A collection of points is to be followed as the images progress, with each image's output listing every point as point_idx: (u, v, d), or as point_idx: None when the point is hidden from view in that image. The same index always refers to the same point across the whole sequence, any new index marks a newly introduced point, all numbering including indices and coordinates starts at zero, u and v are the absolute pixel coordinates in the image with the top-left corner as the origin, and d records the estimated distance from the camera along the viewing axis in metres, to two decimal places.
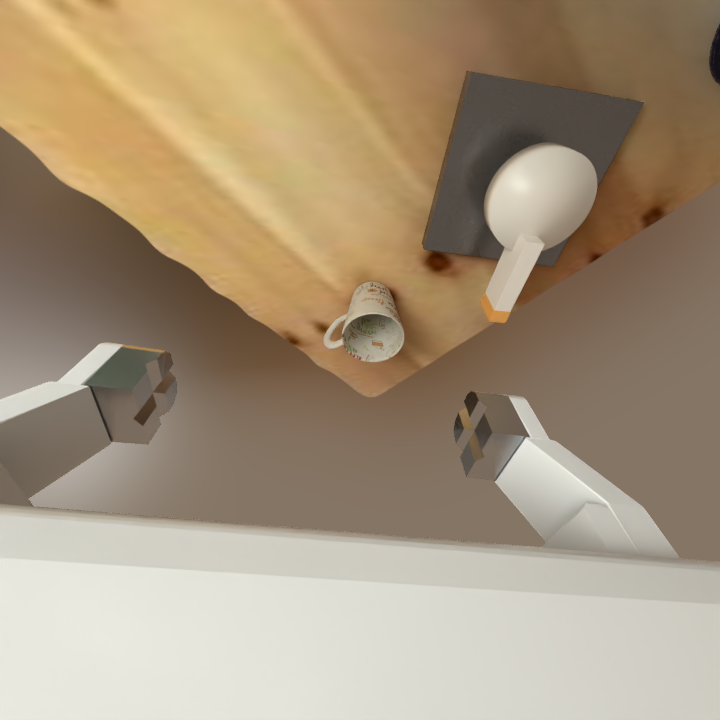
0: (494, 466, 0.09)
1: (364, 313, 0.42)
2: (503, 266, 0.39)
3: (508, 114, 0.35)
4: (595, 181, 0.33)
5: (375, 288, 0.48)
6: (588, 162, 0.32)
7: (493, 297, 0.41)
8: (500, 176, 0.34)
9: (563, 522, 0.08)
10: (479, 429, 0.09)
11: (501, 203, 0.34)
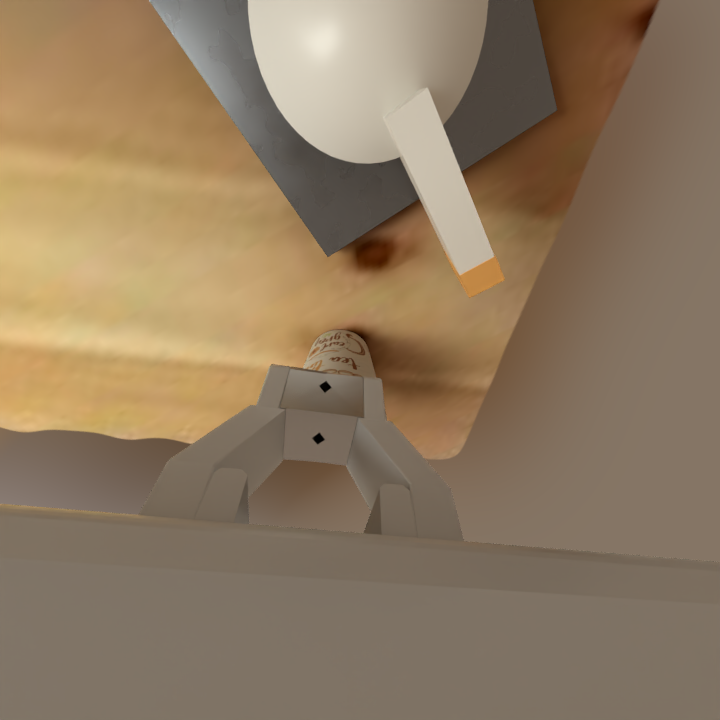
0: (339, 449, 0.08)
1: None
2: (418, 192, 0.19)
3: None
4: None
5: (319, 345, 0.32)
6: None
7: (448, 253, 0.20)
8: None
9: None
10: None
11: (294, 101, 0.16)
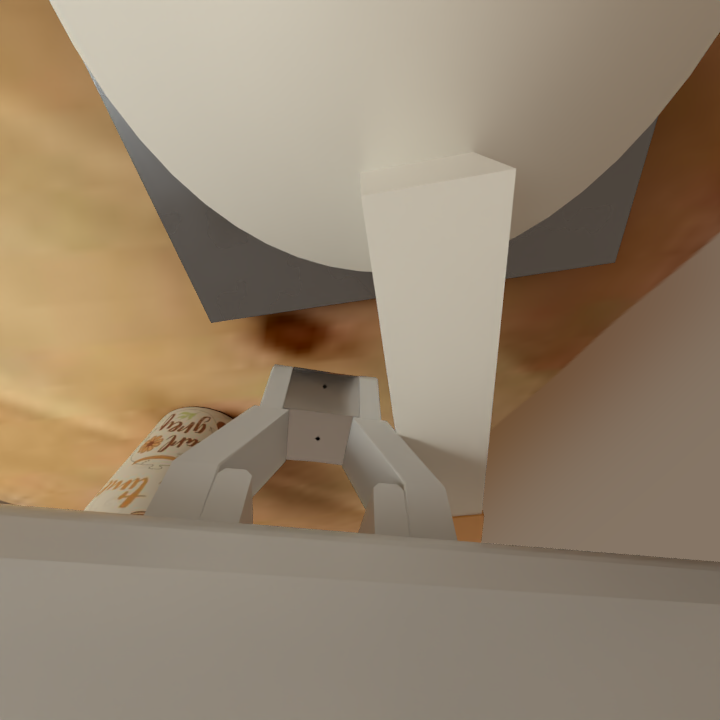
0: (335, 449, 0.08)
1: None
2: None
3: None
4: None
5: (164, 433, 0.20)
6: None
7: None
8: None
9: None
10: None
11: None
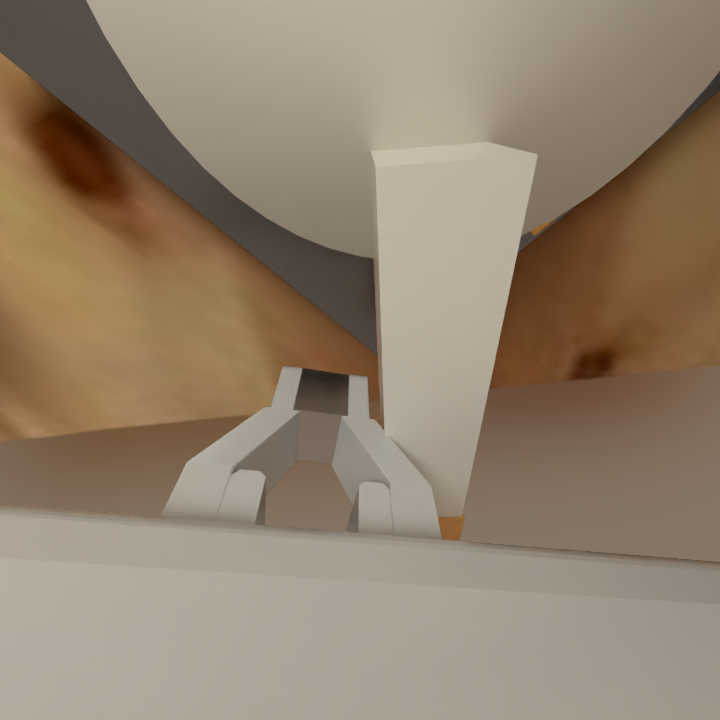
0: (324, 448, 0.08)
1: None
2: None
3: None
4: None
5: None
6: None
7: None
8: None
9: None
10: None
11: None
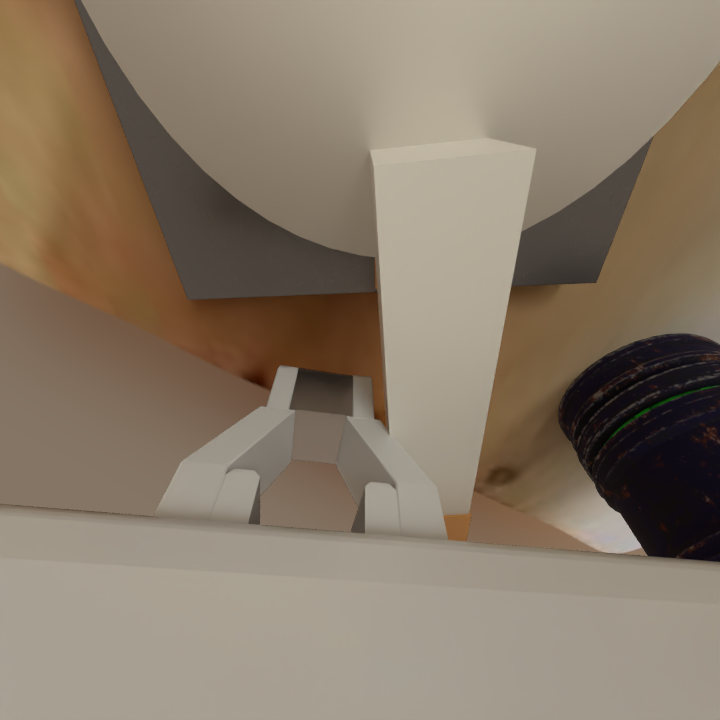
0: (329, 448, 0.08)
1: None
2: None
3: None
4: None
5: None
6: None
7: None
8: None
9: None
10: None
11: None
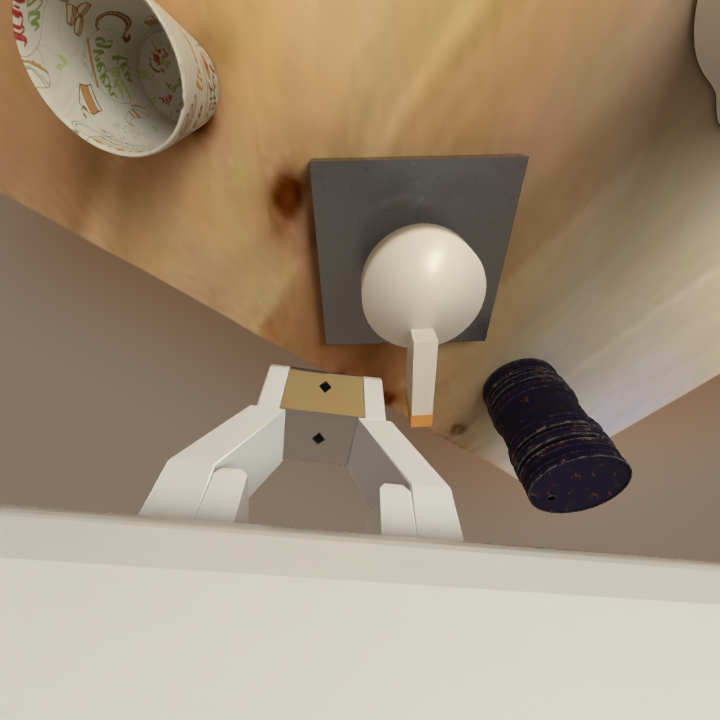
0: (339, 450, 0.08)
1: (164, 23, 0.17)
2: (409, 364, 0.32)
3: (483, 220, 0.31)
4: (477, 259, 0.26)
5: (211, 76, 0.24)
6: (457, 242, 0.25)
7: (409, 398, 0.33)
8: (364, 273, 0.28)
9: None
10: None
11: (372, 304, 0.28)
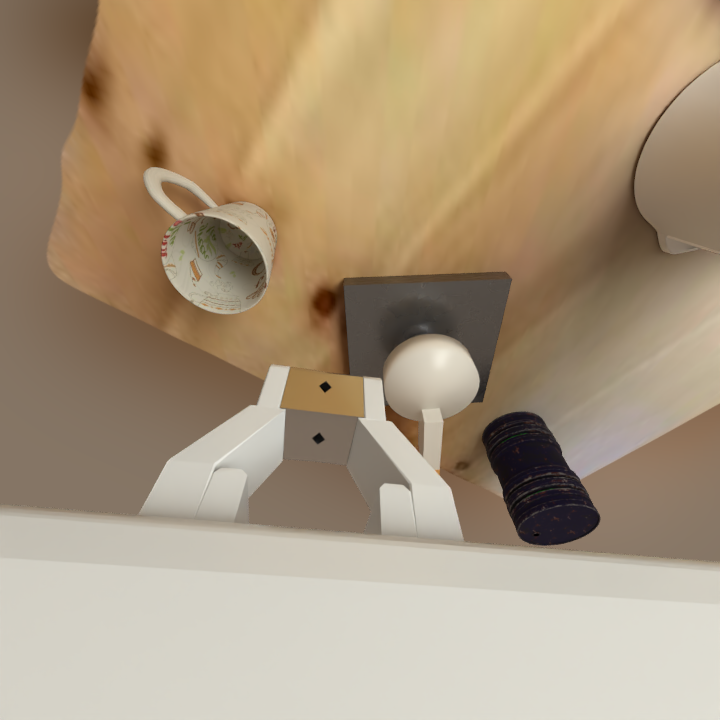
0: (339, 449, 0.08)
1: (258, 245, 0.26)
2: (420, 431, 0.41)
3: (478, 320, 0.39)
4: (471, 365, 0.34)
5: (274, 238, 0.33)
6: (456, 354, 0.34)
7: None
8: (386, 369, 0.37)
9: None
10: None
11: (392, 393, 0.37)
